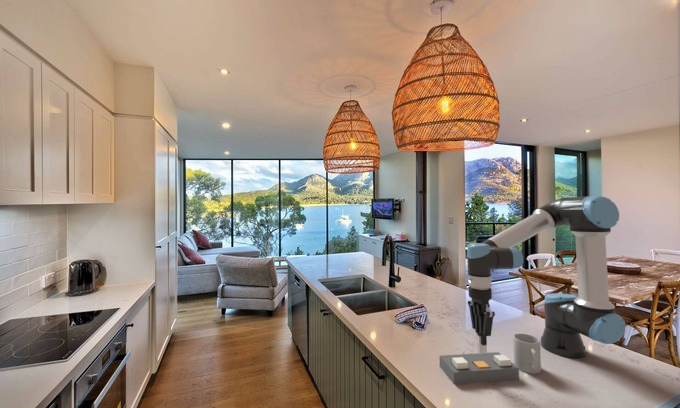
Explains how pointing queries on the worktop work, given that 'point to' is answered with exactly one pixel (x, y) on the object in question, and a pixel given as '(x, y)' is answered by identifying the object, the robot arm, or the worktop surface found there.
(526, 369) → the mug
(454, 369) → the grey button panel
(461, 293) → the worktop surface
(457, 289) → the worktop surface
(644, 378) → the worktop surface
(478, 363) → the button orange
